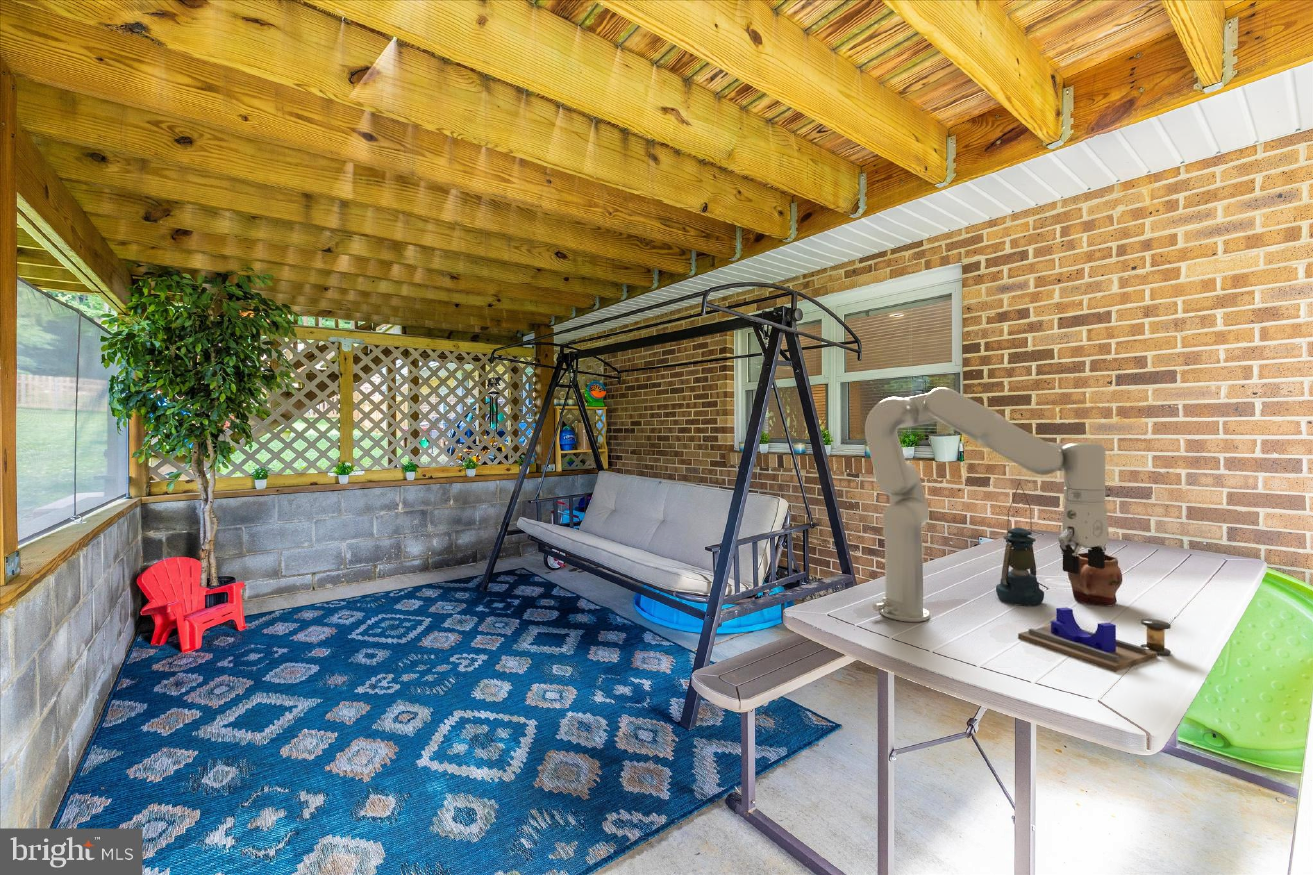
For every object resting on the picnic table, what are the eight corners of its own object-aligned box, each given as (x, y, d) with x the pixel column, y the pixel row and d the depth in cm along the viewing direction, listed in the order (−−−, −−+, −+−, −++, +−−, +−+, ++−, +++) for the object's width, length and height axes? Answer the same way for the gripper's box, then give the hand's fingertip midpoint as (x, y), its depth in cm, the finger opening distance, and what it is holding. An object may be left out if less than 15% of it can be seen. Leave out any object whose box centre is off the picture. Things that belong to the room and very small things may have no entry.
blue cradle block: (1050, 632, 131) (1050, 608, 131) (1067, 631, 131) (1067, 607, 131) (1098, 653, 119) (1098, 626, 119) (1115, 651, 120) (1115, 624, 120)
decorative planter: (1115, 617, 144) (1115, 565, 144) (1059, 606, 153) (1059, 557, 153) (1127, 600, 157) (1127, 553, 157) (1075, 591, 166) (1075, 546, 166)
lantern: (1024, 610, 151) (1024, 485, 150) (984, 598, 162) (983, 481, 161) (1056, 602, 156) (1055, 482, 156) (1015, 591, 167) (1014, 479, 167)
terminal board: (1115, 671, 113) (1115, 661, 112) (1018, 638, 131) (1018, 629, 131) (1156, 657, 119) (1156, 647, 119) (1058, 627, 137) (1058, 619, 137)
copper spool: (1163, 657, 119) (1163, 627, 119) (1135, 649, 124) (1135, 620, 124) (1175, 653, 121) (1175, 624, 121) (1147, 645, 126) (1147, 617, 126)
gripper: (1079, 500, 117) (1079, 578, 118) (1124, 495, 124) (1124, 569, 125) (1043, 496, 124) (1043, 570, 125) (1087, 492, 131) (1087, 562, 132)
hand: (1083, 569), depth 125 cm, fingers open, 9 cm apart
